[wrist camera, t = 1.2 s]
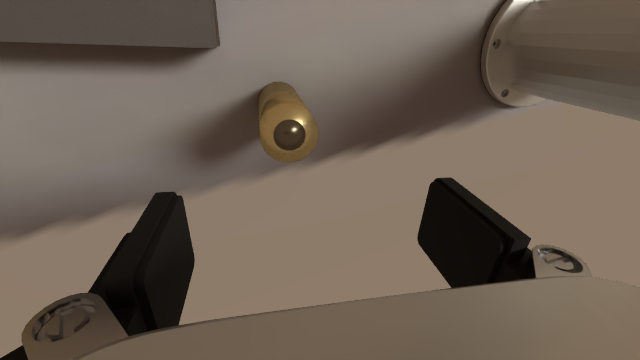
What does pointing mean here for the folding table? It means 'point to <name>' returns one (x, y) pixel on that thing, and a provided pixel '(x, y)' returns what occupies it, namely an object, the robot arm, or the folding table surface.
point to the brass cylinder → (285, 123)
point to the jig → (111, 22)
